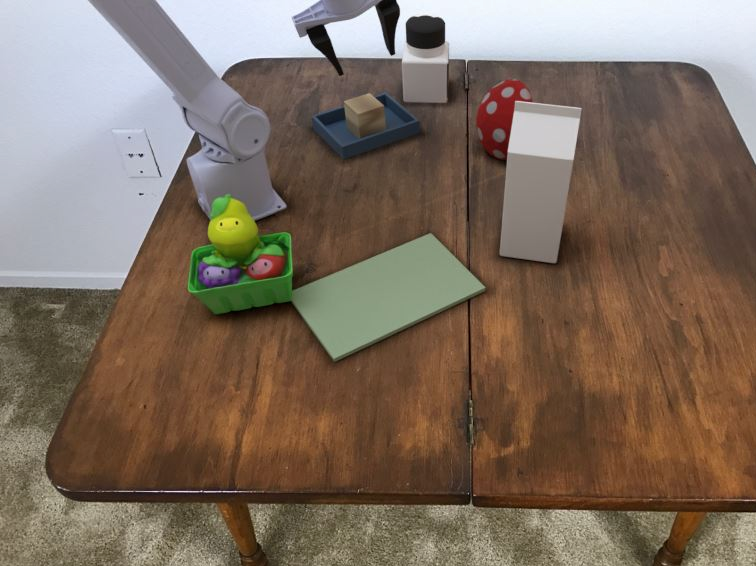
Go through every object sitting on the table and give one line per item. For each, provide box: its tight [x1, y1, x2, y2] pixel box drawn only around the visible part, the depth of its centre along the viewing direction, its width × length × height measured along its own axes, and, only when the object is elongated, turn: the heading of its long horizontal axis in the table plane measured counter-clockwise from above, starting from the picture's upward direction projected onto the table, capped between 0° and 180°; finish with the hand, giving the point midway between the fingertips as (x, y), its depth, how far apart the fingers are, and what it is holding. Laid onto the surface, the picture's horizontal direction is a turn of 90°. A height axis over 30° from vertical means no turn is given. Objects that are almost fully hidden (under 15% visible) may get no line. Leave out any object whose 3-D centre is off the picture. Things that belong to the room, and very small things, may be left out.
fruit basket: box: [187, 195, 294, 315], centre depth 75 cm, size 11×9×11 cm
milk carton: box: [499, 101, 583, 264], centre depth 79 cm, size 7×7×19 cm
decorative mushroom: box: [475, 78, 534, 161], centre depth 98 cm, size 11×11×15 cm
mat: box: [290, 232, 486, 363], centre depth 80 cm, size 20×12×1 cm, turn 124°
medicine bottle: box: [401, 13, 450, 104], centre depth 107 cm, size 7×7×12 cm
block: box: [343, 92, 386, 139], centre depth 101 cm, size 4×4×4 cm
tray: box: [310, 92, 421, 160], centre depth 102 cm, size 13×10×2 cm
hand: (365, 61), depth 94 cm, fingers open, 7 cm apart
